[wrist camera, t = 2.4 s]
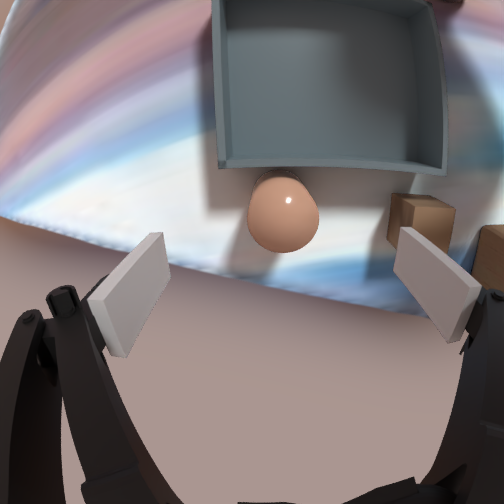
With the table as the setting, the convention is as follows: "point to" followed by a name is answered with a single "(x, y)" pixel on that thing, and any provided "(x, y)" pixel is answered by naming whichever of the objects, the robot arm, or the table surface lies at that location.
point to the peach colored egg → (282, 212)
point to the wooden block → (490, 258)
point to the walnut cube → (421, 218)
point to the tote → (329, 85)
